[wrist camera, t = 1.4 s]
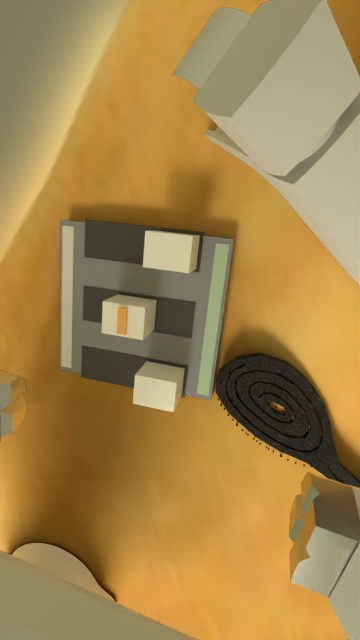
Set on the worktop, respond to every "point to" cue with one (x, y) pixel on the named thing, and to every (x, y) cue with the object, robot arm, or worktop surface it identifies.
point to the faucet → (287, 110)
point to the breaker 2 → (170, 251)
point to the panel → (137, 281)
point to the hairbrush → (291, 433)
